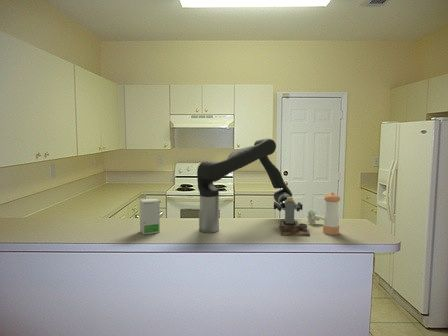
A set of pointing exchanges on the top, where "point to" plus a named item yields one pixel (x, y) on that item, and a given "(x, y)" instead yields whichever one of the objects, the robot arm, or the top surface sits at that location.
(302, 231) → the bit block
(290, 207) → the grey square column
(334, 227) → the pepper shaker
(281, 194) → the robot arm
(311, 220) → the valve
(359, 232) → the top surface
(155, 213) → the skincare box
